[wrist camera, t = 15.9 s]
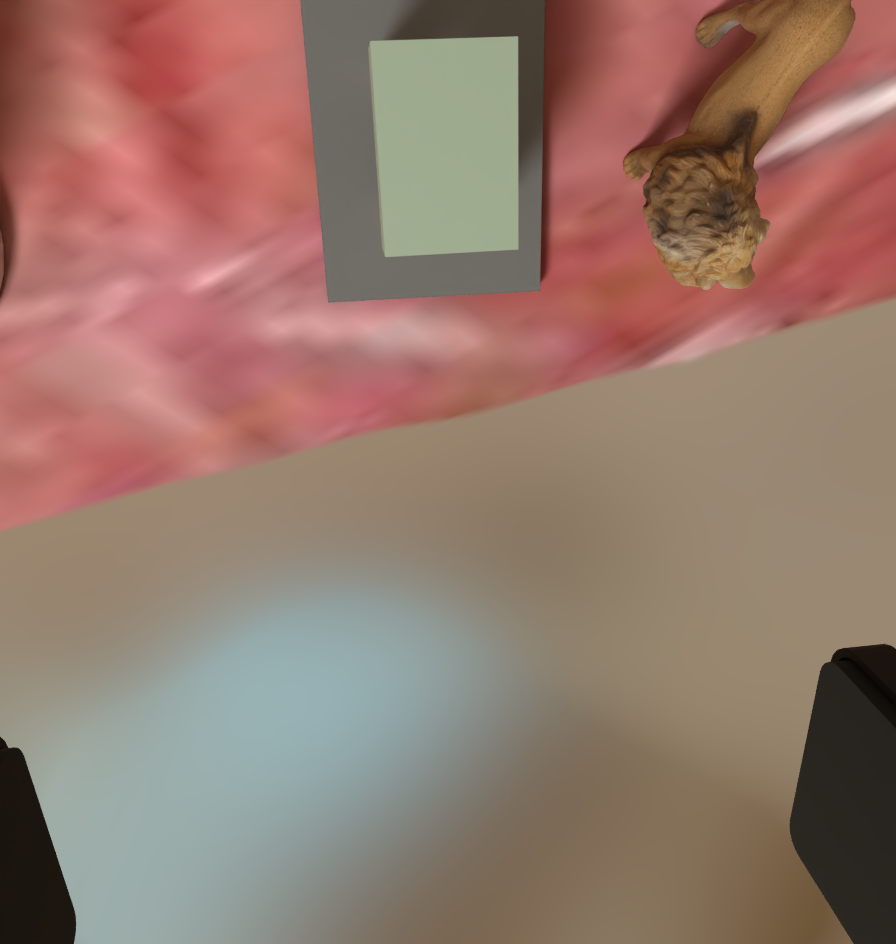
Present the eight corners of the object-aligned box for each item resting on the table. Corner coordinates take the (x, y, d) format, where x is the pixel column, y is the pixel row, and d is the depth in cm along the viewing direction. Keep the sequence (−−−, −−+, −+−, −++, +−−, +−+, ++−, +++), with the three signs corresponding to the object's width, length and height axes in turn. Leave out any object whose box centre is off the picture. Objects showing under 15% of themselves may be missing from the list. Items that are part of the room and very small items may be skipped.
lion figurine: (677, 281, 38) (767, 321, 30) (582, 242, 37) (650, 272, 29) (834, -43, 33) (992, -100, 25) (731, -101, 32) (863, -182, 24)
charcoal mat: (328, 299, 37) (328, 302, 36) (296, -53, 31) (295, -58, 30) (536, 288, 38) (539, 291, 37) (541, -56, 32) (546, -60, 31)
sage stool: (365, 59, 32) (370, 40, 26) (484, 55, 33) (518, 36, 26) (378, 234, 35) (385, 257, 29) (487, 228, 35) (518, 249, 29)
